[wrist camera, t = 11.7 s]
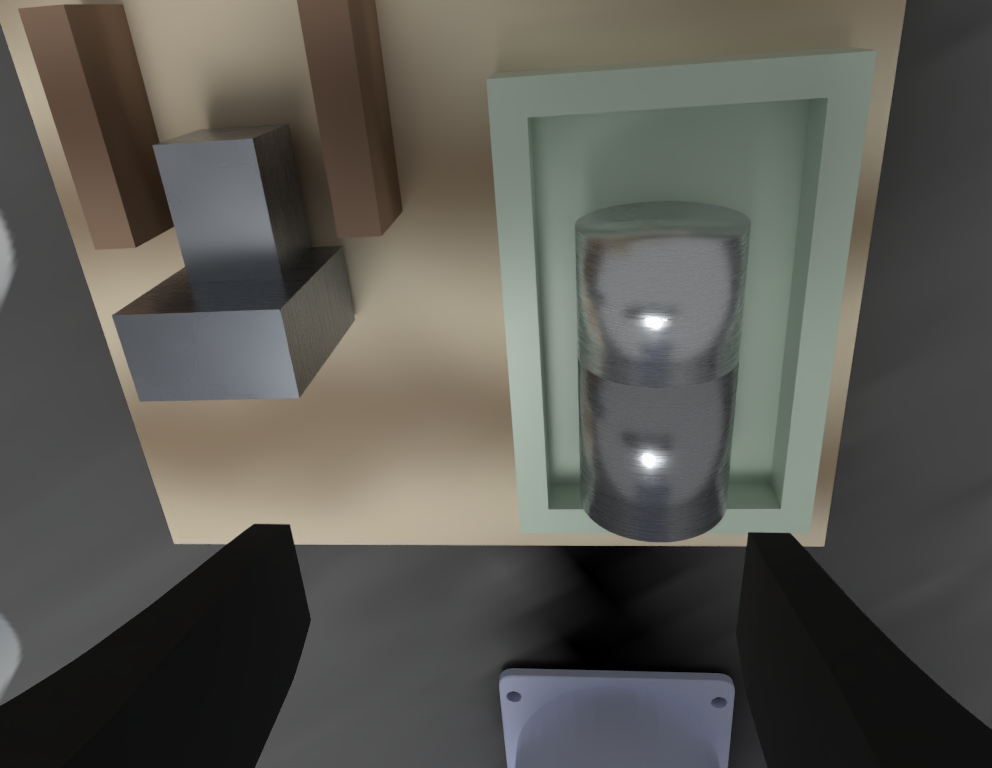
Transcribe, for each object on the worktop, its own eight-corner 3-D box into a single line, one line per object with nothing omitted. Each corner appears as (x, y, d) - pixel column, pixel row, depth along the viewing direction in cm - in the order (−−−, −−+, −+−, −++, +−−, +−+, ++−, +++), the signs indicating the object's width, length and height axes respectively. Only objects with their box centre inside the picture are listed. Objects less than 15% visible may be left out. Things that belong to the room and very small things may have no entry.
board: (814, 525, 23) (824, 546, 22) (188, 524, 25) (174, 544, 24) (950, -438, 13) (976, -470, 12) (-71, -289, 16) (-109, -306, 15)
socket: (402, 211, 18) (381, 235, 16) (144, 224, 19) (94, 249, 17) (372, -19, 16) (344, -22, 14) (82, 7, 17) (17, 8, 15)
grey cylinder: (725, 463, 20) (728, 550, 17) (590, 454, 21) (569, 533, 18) (747, 200, 17) (755, 247, 14) (587, 202, 18) (561, 246, 15)
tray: (794, 497, 21) (809, 534, 20) (524, 499, 22) (520, 533, 21) (850, 46, 16) (876, 51, 14) (494, 73, 17) (486, 79, 15)
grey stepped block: (355, 320, 20) (299, 398, 16) (225, 324, 20) (139, 401, 16) (320, 120, 17) (246, 153, 14) (175, 129, 18) (62, 165, 14)
